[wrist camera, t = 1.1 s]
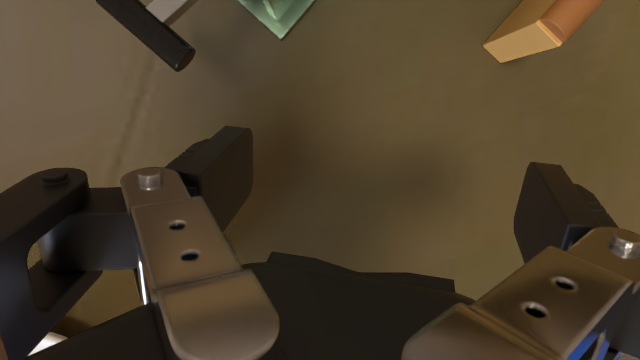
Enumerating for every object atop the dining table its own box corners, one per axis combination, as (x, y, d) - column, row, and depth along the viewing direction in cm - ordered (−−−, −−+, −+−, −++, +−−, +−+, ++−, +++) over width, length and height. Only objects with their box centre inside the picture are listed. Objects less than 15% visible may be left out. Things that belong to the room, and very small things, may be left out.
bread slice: (500, 63, 36) (569, 44, 26) (481, 45, 36) (543, 19, 26) (570, -14, 35) (668, -64, 25) (551, -33, 35) (642, -90, 25)
